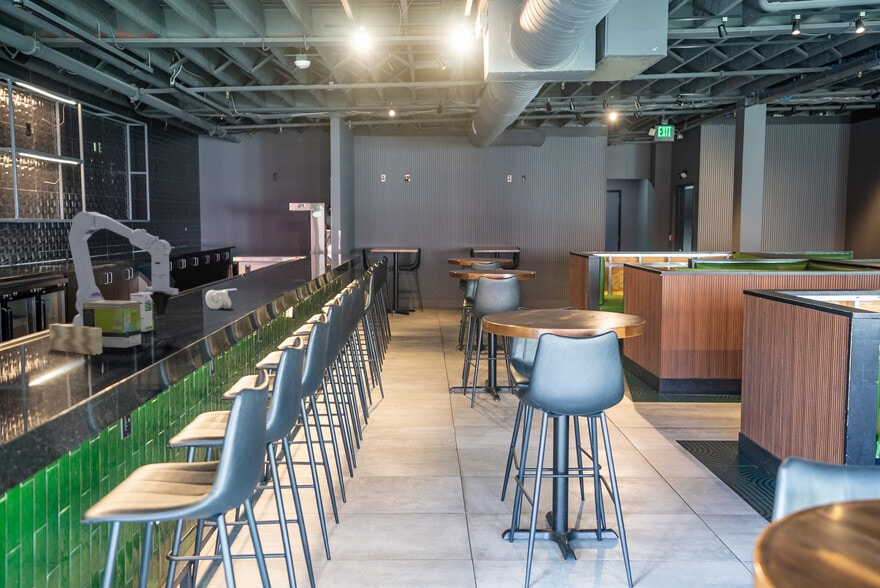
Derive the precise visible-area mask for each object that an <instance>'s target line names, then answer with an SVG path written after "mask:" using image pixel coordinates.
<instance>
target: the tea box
mask: <svg viewBox="0 0 880 588" xmlns="http://www.w3.org/2000/svg"><path fill="white" fill-rule="evenodd" d="M83 326H86V327H96V328H102V348H118V349H119V348H121V349H125V348H130V347H135V346H138V345H139V346H140V345H141V344H142V332H141V318H140V301H131V300H107V299H106V300H105V299H104V300H100V301H92V302H85V303H83Z"/></svg>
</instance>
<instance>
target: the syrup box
mask: <svg viewBox="0 0 880 588" xmlns="http://www.w3.org/2000/svg"><path fill="white" fill-rule="evenodd" d="M150 294H153V293H151V292H143V291H138V292H134V293H133V292H132V293H130V301H140V318H141V333H142V332H145V333H146V332H149V331H153V330H154V329H155V326H154V324H155V323H154V322H155V321H154V302H153V300H152V299H151V297H150Z"/></svg>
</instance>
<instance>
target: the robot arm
mask: <svg viewBox="0 0 880 588" xmlns="http://www.w3.org/2000/svg"><path fill="white" fill-rule="evenodd" d="M71 222H72V223H71V226H70V227H71V228H70V230H69V232H68V233H69V234H68V237H67V238H68V242H69V248H70V251H71V256H72V261H73V266H74V272H75V276H76V281H77V286H78V289H77V291H76V294H75V295H76V302H75V310H76V311H77V312H78V314H77V315H75V316H74V318H73V320H72V325H77V326H83V303H85V302H92V301H100V300H105V298H104V296H103V295H102V294H101V290H100V288H99V287H98V286H97V285H96V279H95V276H94V270H93V266H92V261H91V260H92V259H91V256H90V251H89V250H90V249H89V245H88V239H89V238H90V237H92V235H93V234H94V233H96V232H97V231H99V230H101V229H106V230H109V231H111V232H114V233H116V234H118V235H120V236H122V237H125V238H127V239H128V241H129V243H130V244H131V245H133V246H134V247H137V248H139V249H141V250H143V251H145V252H148V253H149V255H150V256H151V262H150V263H151V264H150V265H151V286H143V287H142V288H143V289H142V290H143V291H142V292H151V293H153V294H150V297H151V299H152V300H153V306H154V308H155V311H156V315H161V316H162V315H165V313H166V309H167V306H168V303H169V301H170V299H171V297H172V295H173V296H174V295H175V296H176V295H179V288H174V287H170V254H171V252H172V245H171V244H170V242H168V241H167V240H166V239H160V237H159V236H158V235H155V236H154V235H152V234H150V233H149V232H147V230H146V229H144V228H141V229H140V228H136V229H132V228H130V227H128V226H127V225H124V224H123V223H121V222H119V221H118V220H116V219H113V217H111V216H107V215H105V214H101V213H99V212H98V211H79V212H78V213H77V214H75V216H74V217H73V218H72V219H71Z"/></svg>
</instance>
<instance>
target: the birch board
mask: <svg viewBox="0 0 880 588" xmlns="http://www.w3.org/2000/svg"><path fill="white" fill-rule="evenodd" d="M48 327H49V330H48V332H49V350H52V351H61V352H66V351H67V353H74V352H75V353H74V354H83V355H90V354H91V356H96V354H97V355H101V353H102V354H103V347H102V328H96V327H86V326H77V325H73V324H67V323H51V324H48Z"/></svg>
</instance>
